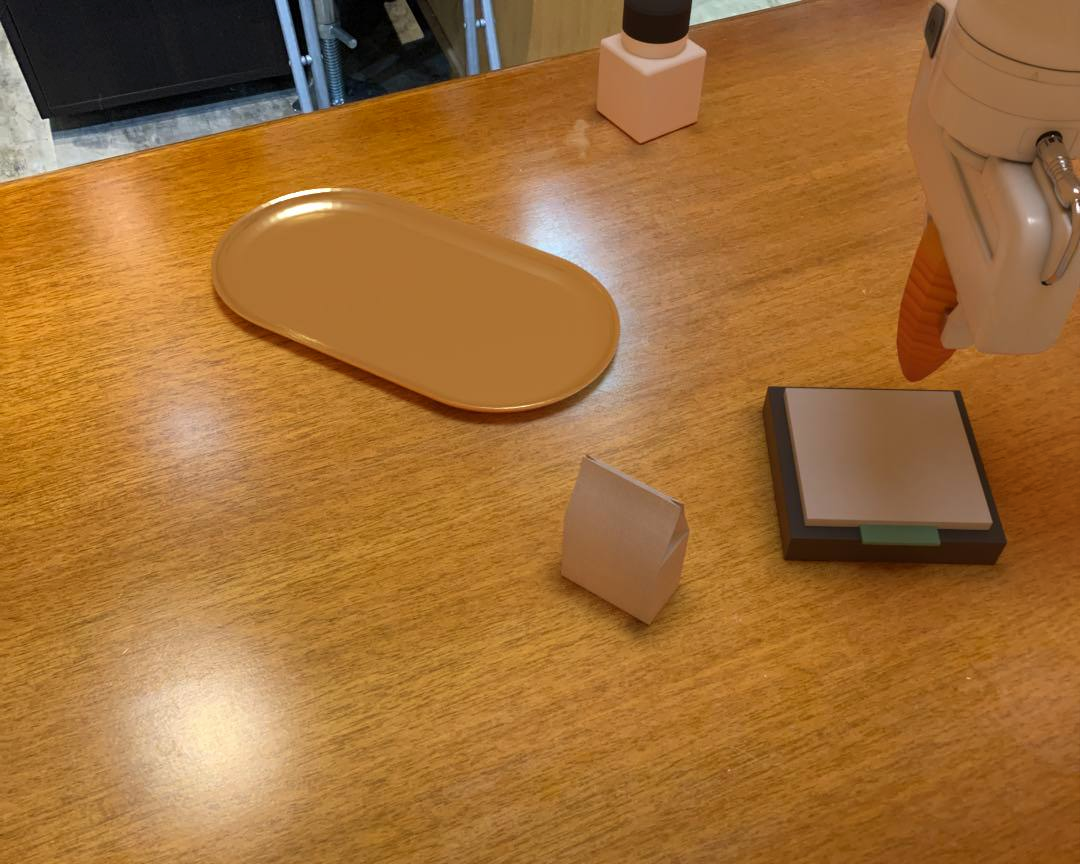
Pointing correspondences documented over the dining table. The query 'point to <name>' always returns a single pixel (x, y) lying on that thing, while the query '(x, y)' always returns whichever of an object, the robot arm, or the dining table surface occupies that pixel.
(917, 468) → the kitchen scale
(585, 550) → the brown paper bag
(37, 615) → the dining table surface
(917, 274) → the carrot
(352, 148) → the dining table surface
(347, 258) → the serving platter
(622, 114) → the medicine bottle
